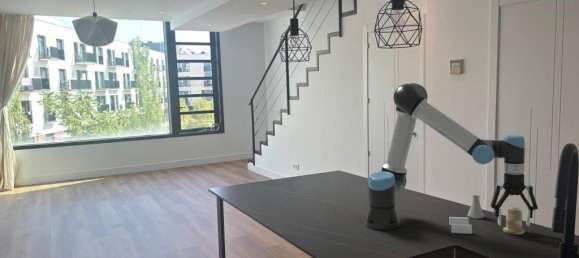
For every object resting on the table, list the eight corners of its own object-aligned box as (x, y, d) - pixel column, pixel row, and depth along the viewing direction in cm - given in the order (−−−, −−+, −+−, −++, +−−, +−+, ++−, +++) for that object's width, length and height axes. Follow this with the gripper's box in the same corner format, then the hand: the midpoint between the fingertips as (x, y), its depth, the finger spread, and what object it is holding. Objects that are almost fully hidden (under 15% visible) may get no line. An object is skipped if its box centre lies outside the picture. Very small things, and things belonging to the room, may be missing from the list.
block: (508, 231, 181) (508, 210, 180) (506, 227, 186) (506, 207, 185) (521, 232, 180) (522, 211, 179) (519, 228, 185) (519, 207, 184)
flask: (474, 219, 200) (474, 198, 199) (464, 215, 207) (464, 195, 206) (487, 218, 202) (488, 196, 201) (477, 213, 209) (477, 193, 208)
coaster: (505, 234, 180) (505, 232, 180) (501, 227, 188) (501, 226, 188) (526, 235, 178) (526, 233, 178) (521, 228, 186) (521, 227, 186)
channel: (451, 232, 185) (451, 224, 184) (449, 224, 195) (449, 216, 195) (471, 233, 182) (471, 225, 182) (468, 225, 193) (468, 217, 193)
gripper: (485, 174, 180) (485, 226, 182) (547, 175, 174) (546, 229, 176) (482, 170, 187) (482, 220, 190) (542, 171, 181) (541, 223, 184)
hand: (513, 224), depth 183 cm, fingers open, 10 cm apart
